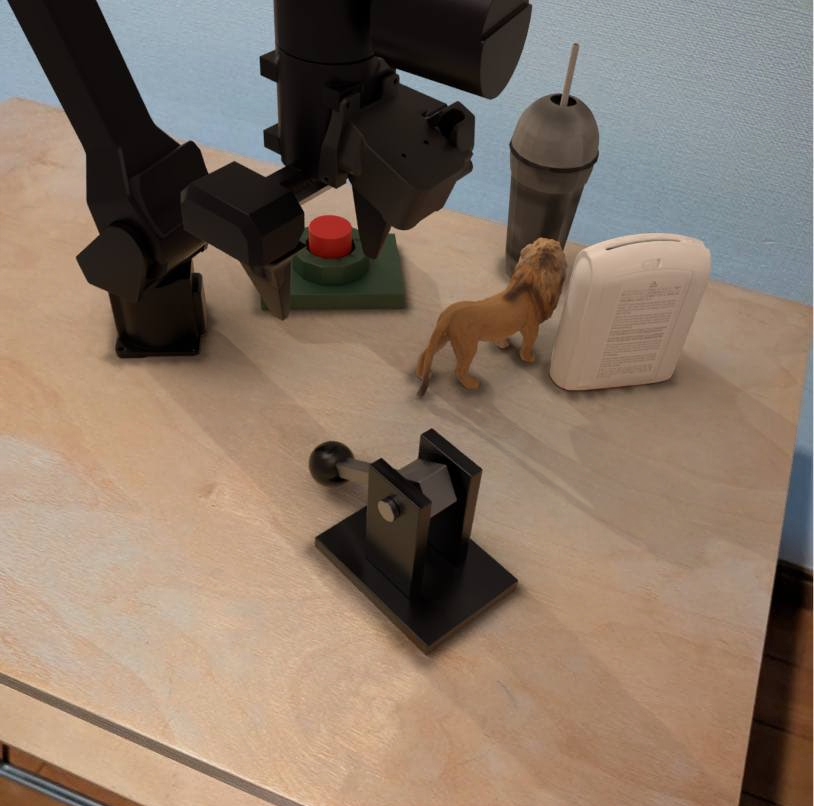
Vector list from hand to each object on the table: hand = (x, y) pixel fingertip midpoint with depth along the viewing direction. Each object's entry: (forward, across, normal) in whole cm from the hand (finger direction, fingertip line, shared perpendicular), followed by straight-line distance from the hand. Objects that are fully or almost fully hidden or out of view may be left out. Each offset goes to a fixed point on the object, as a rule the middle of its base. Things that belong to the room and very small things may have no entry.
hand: (327, 285), depth 61 cm
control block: (+11, +12, +10) cm, 19 cm away
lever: (+7, -7, -11) cm, 15 cm away
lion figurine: (+11, +13, -6) cm, 18 cm away
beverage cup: (+11, +26, -2) cm, 28 cm away
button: (+8, +12, +10) cm, 18 cm away
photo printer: (+11, +18, -14) cm, 26 cm away
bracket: (+11, -8, -15) cm, 20 cm away
